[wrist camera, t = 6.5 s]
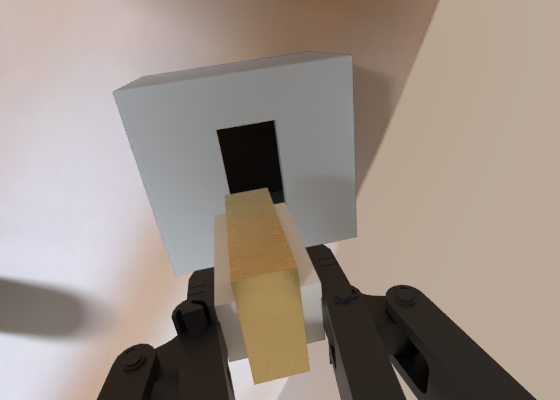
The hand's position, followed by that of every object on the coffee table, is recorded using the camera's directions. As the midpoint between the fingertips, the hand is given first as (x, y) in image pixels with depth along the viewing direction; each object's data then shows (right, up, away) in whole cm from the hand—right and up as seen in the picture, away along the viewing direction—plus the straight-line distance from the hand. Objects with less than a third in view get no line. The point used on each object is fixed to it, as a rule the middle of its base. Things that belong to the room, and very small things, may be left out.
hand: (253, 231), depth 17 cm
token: (0, 0, +1) cm, 1 cm away
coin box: (-2, +8, +15) cm, 17 cm away
